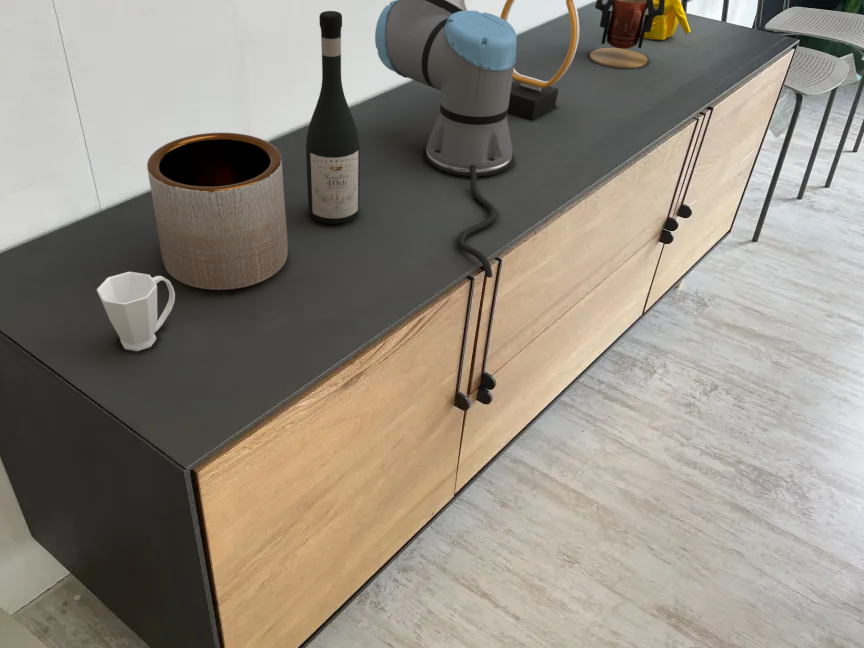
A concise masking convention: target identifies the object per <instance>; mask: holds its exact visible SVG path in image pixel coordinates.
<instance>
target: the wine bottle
mask: <svg viewBox="0 0 864 648" xmlns="http://www.w3.org/2000/svg"><path fill="white" fill-rule="evenodd" d="M318 16H319V19H318V20H319V27H320V41H321V45H320V46H321V72H322V73H321V86H320V92H319V95H318V99H317V101H316V102H317V103H316V105H315V107H314V110H313V113H312V116H311V118H310V120H309V121H310V122H309V124H308V128H307V133H306V141H305V158H306V159H305V160H306V161H305V162H306V182H307V183H306V185H307V205H308V212H309V215H310V216H311V217H312V218H313V219H314V220H316V221H317V222H321V223H324V224H327V225H339V224H345V223H348V222H350V221H352V220H353V219H355V218H356V217H357V215H358V214H359V211H360V191H361V190H360V181H361V180H360V178H361V176H360V173H361V170H360V169H361V166H360V165H361V144H360V138H359V132H358V128H357V126H356V122H355V120H354V117H353V114H352V111H351V109H350V107H349V104H348V102H347V99H346V96H345V93H344V88H343V82H342V27H343V15H342V12H339V11H336V10H325V11H322V12H320V14H319V15H318Z"/></svg>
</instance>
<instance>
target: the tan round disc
mask: <svg viewBox="0 0 864 648" xmlns="http://www.w3.org/2000/svg"><path fill="white" fill-rule="evenodd" d="M589 58H590V59H591V60H592V61H593V62H594V63H596V64H598V65H601V66H605V67H609V68H615V69H637V68H641V67H643V66H645V65H646V64H647V63H648V57H647V56H645V55H644V54H643V53H640V52H638V51H635V50H631V49H621V48H615V47H602V48H601V47H600V48H597V49H594V50H592V51H591V52H590V53H589Z"/></svg>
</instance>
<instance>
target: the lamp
mask: <svg viewBox="0 0 864 648" xmlns="http://www.w3.org/2000/svg"><path fill="white" fill-rule="evenodd" d="M515 1H516V0H506V1H505V3H504V5H503V8H502V10H501V12H500V13H501V14H500V16H499V17H500V18H502V19H504V20H505V21H507V22H508V18H509V15H510V12H511V10H512V7H513V5H514V3H515ZM565 3H566V8H567V12H568V16H569V22H570V42H569V46H568V51H567V54H566V56H565V59H564V60H563V63H562V64H561V66H560V68H559V69H558V71H557V72H556V73H555V74H554V75H553V77H552V78H550V79H549V80H548V81H546V80H541V79H538V78H535V77H531V76H528V75H524V74H521V73H519V72H518V71H517V70H516V69H515V68H514V71H513V78H512V80H514V81H512V85H511V92H510V99H509V106H508V113H509V114H512V115H516V116H519V117H522V118H524V119H528V120H531V121H533V120H535V119H536V118H538V117H540V116H542V115H544V114H546V113H548V112H549V111H551V110H553V109H555V108H556V105H557V99H558V93H559V88H557V87H553V85H554V84H556V83H557V82H558V81H560V79H562V77H563V76H564V75H565V74H566V72H567V71H568V69H569V68H570V66H571V64H572V62H573V61H574V58H575V55H576V52H577V49H578V46H579V41H580V40H579V39H580V19H579V13H578V8H577V4H576V1H575V0H565Z"/></svg>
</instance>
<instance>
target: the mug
mask: <svg viewBox="0 0 864 648" xmlns="http://www.w3.org/2000/svg"><path fill="white" fill-rule="evenodd" d="M647 11H648V8H647V1H646V0H615V1H614V2H613V4H612V6H611V16H610V21H609V26H608V31H607V36H606V43H607V44H608V45H609V46H611V48H621V49H628V50H630V49H633V48H634V47H636V46H638V44H639V39H640V35H641V31H642V27H643V22H644V18H645V14H646V12H647Z"/></svg>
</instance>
